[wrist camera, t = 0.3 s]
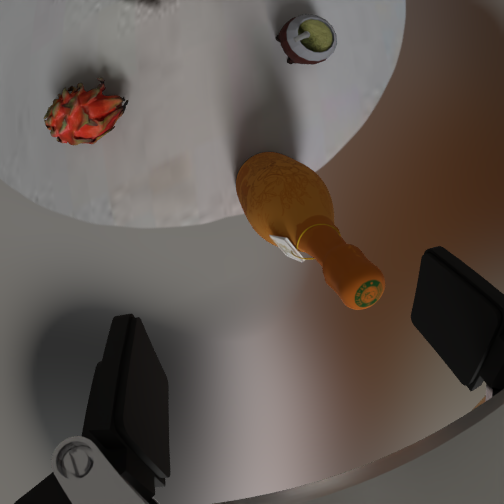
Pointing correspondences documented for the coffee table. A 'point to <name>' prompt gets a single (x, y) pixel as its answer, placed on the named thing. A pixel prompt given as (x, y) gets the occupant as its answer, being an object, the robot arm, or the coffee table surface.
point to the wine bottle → (305, 224)
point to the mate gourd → (307, 39)
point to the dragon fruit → (83, 114)
